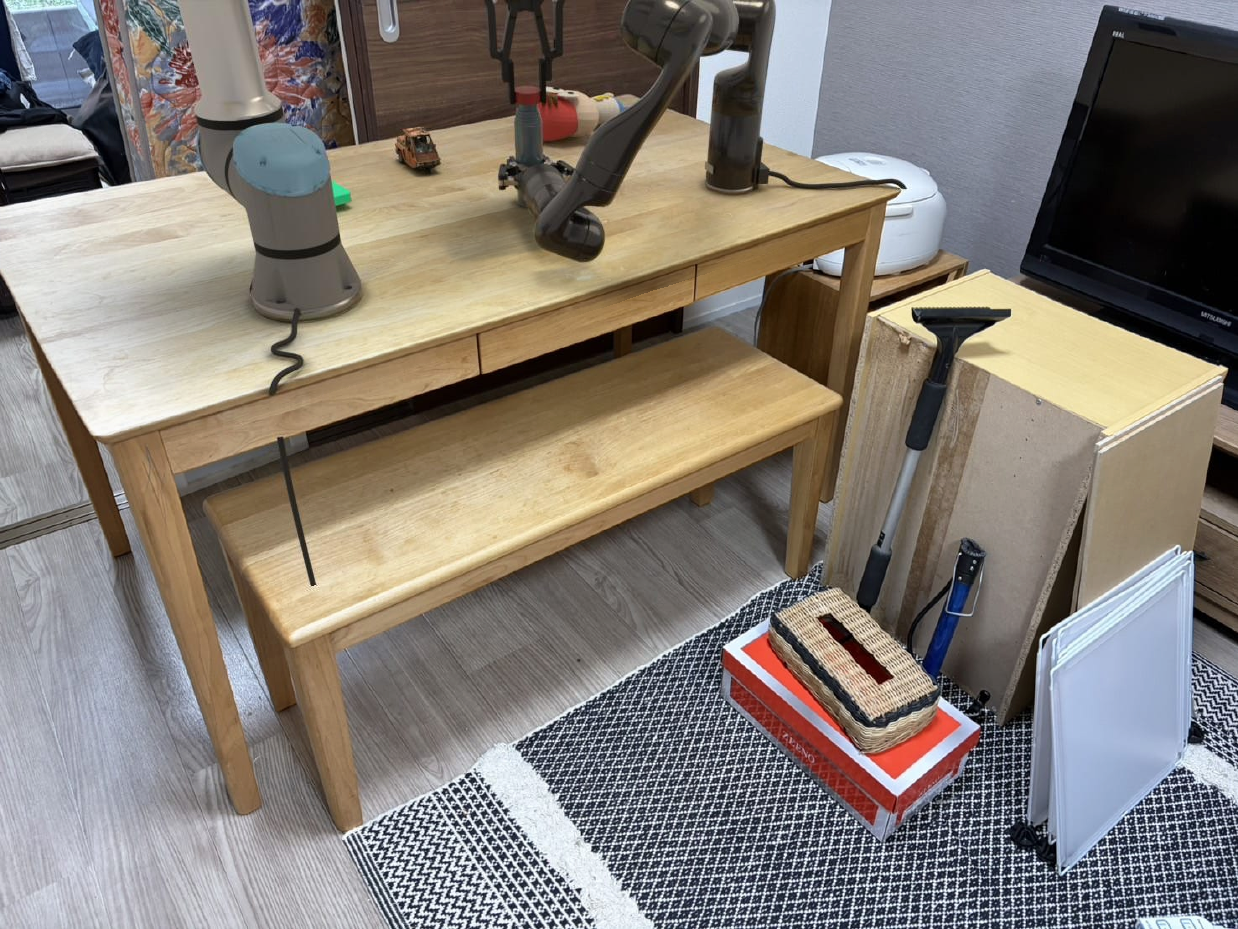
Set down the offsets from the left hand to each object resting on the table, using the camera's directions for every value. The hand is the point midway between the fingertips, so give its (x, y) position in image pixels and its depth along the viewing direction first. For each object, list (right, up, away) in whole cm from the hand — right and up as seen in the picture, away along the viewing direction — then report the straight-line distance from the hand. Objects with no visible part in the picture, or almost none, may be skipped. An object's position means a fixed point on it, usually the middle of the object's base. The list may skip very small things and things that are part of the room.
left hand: (527, 101), depth 156 cm
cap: (0, +1, -1) cm, 2 cm away
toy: (+9, +11, +45) cm, 47 cm away
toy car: (-24, -3, +24) cm, 34 cm away
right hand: (-1, -7, +9) cm, 11 cm away
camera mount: (-38, -15, +8) cm, 41 cm away
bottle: (0, -14, +11) cm, 18 cm away
